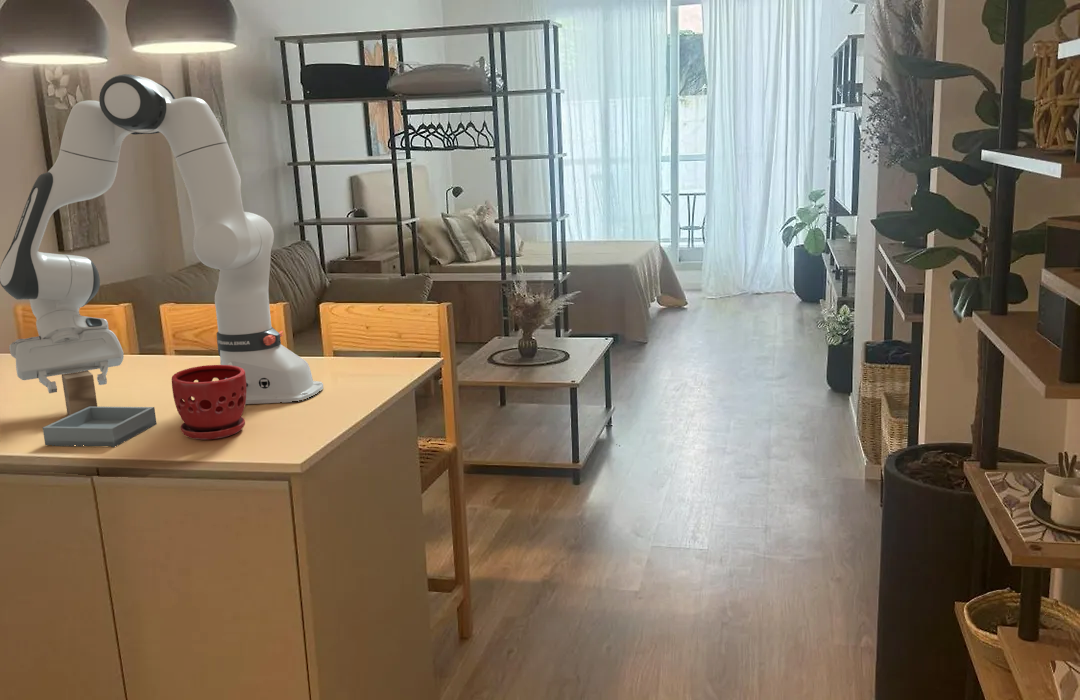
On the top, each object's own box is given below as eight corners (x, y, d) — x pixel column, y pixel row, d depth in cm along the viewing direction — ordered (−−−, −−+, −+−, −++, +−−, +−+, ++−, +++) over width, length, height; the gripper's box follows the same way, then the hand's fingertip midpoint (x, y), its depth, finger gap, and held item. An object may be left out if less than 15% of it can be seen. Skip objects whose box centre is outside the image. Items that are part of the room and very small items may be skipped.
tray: (156, 424, 185) (154, 407, 185) (114, 447, 172) (112, 428, 171) (91, 423, 187) (89, 406, 187) (45, 445, 174) (42, 427, 173)
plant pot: (164, 443, 173) (156, 380, 170) (201, 422, 186) (194, 363, 183) (230, 445, 171) (222, 381, 168) (263, 423, 183) (257, 364, 181)
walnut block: (93, 409, 198) (87, 370, 196) (98, 414, 194) (92, 374, 192) (67, 414, 195) (61, 374, 193) (72, 419, 191) (66, 379, 189)
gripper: (7, 331, 191) (21, 387, 185) (114, 318, 202) (131, 370, 197) (7, 349, 195) (21, 404, 190) (112, 335, 207) (128, 386, 201)
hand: (78, 387), depth 193 cm, fingers open, 8 cm apart
